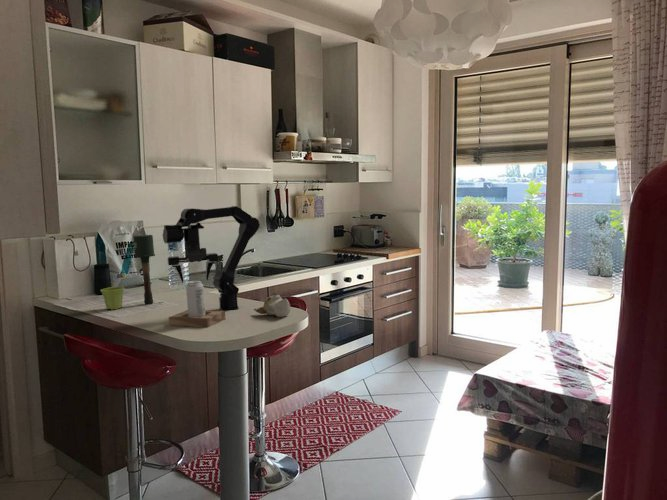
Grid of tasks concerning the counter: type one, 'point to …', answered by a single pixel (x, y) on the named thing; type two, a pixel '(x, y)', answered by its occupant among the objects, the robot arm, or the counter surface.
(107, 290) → the plant pot
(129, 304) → the counter surface
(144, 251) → the potato masher grenade
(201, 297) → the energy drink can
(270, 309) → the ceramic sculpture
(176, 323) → the hole board
